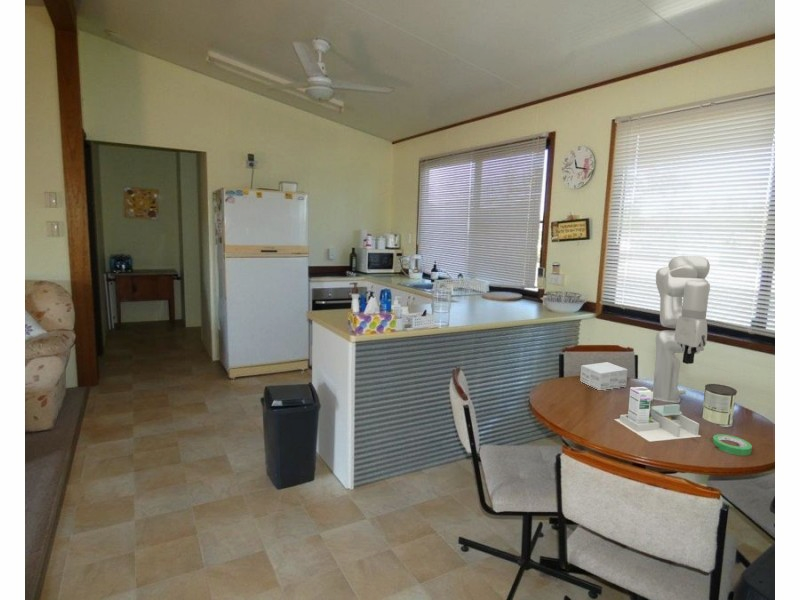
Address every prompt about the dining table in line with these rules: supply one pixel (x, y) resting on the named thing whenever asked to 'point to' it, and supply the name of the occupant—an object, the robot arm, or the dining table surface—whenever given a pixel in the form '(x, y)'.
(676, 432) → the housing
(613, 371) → the supplement box
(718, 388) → the coffee can
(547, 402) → the dining table surface
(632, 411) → the syrup box
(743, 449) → the tape roll
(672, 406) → the lid
